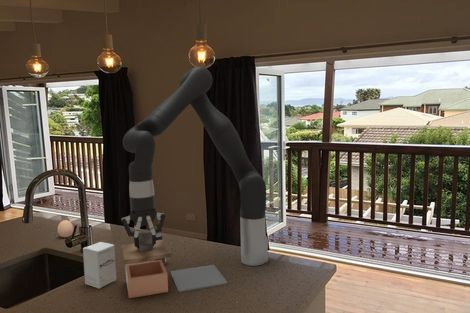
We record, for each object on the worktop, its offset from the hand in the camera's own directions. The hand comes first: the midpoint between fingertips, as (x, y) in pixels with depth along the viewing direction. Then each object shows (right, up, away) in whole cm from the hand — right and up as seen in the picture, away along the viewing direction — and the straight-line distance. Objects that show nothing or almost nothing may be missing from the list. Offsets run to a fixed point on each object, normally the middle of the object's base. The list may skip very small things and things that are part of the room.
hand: (145, 246), depth 126 cm
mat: (+16, -13, +7) cm, 22 cm away
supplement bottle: (0, -11, +20) cm, 23 cm away
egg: (-48, -8, +54) cm, 73 cm away
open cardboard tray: (0, -14, +2) cm, 14 cm away
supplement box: (-16, -14, +6) cm, 22 cm away
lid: (0, -2, 0) cm, 2 cm away
